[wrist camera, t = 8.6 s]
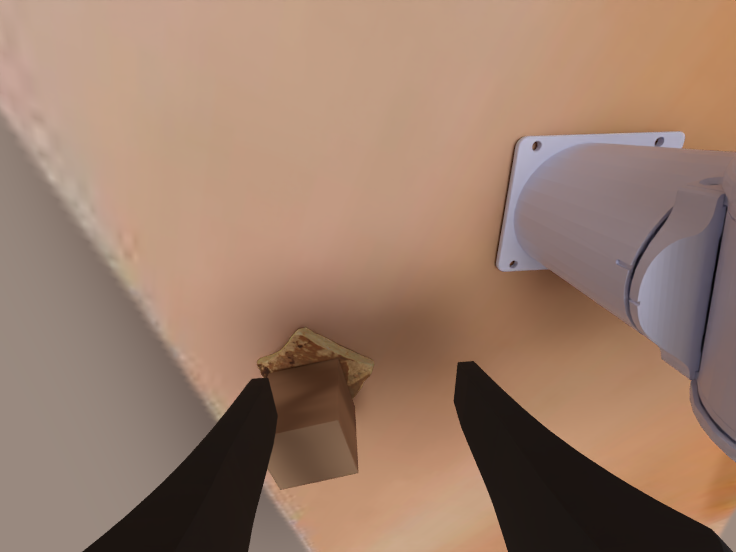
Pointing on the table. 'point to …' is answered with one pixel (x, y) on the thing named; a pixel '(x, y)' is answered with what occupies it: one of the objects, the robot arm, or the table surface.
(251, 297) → the table surface
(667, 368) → the table surface
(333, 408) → the walnut cube
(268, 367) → the shard
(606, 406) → the table surface
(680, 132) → the robot arm
